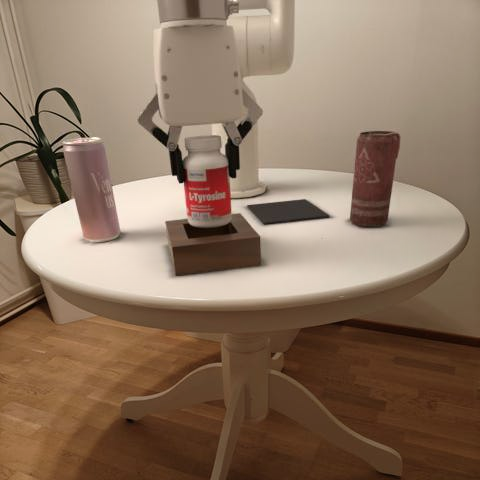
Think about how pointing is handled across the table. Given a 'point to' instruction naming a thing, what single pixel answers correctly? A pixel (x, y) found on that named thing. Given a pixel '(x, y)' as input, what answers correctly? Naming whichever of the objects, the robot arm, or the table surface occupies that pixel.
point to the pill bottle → (206, 182)
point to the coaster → (286, 211)
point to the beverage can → (92, 188)
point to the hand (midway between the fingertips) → (206, 177)
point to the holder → (212, 246)
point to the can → (373, 177)
